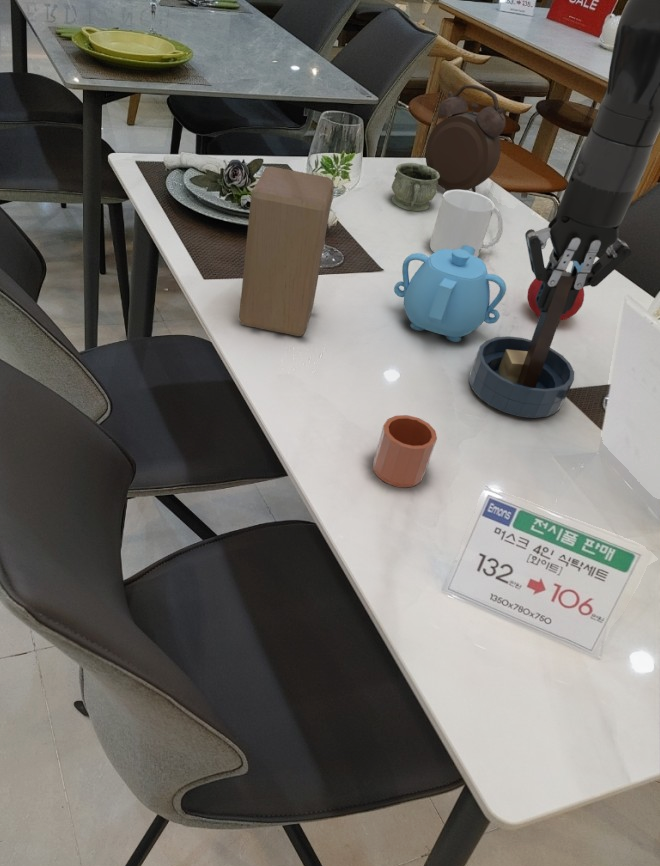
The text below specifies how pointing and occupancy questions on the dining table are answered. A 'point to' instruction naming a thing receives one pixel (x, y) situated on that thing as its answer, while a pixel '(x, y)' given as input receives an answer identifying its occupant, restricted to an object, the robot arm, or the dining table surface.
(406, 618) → the dining table surface
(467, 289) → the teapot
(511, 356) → the block
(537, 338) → the stick
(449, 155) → the alarm clock
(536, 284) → the tomato
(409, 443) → the holder
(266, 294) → the wooden block
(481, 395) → the bowl
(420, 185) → the vessel
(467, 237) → the mug
